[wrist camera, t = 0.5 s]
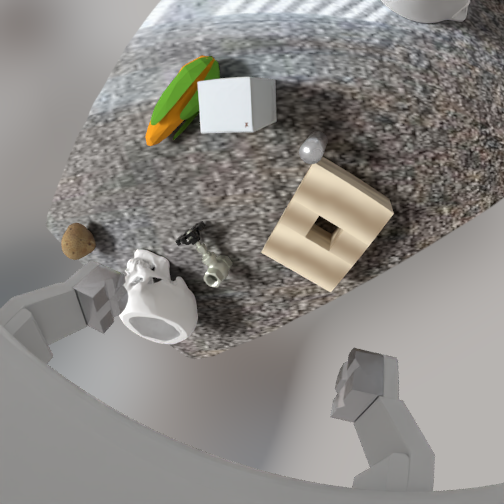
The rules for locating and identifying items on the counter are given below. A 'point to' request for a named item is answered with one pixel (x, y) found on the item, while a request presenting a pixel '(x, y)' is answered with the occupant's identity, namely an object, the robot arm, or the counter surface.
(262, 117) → the supplement box
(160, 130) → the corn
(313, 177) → the hole block
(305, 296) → the counter surface
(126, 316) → the skull planter
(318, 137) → the steel peg
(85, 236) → the potato
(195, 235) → the valve
